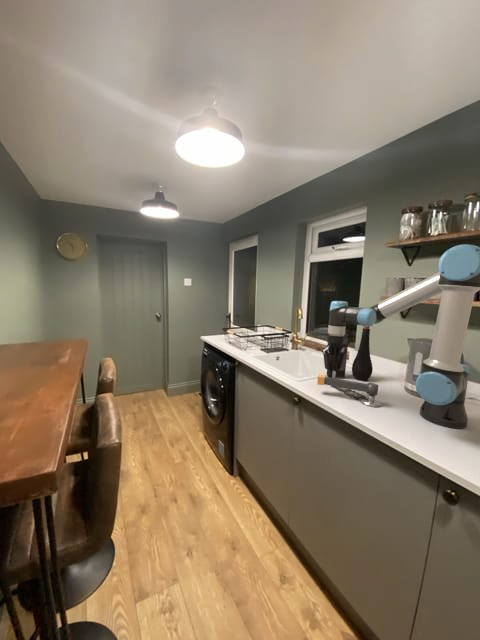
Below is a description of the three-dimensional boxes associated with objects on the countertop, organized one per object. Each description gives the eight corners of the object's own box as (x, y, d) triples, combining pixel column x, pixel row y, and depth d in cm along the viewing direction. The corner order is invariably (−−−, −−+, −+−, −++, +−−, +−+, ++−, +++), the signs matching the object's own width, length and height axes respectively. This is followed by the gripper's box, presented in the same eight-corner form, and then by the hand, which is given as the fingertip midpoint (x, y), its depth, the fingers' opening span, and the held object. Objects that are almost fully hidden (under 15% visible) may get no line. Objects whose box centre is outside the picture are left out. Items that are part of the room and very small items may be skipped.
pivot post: (385, 406, 118) (386, 396, 117) (371, 408, 114) (372, 398, 114) (369, 398, 125) (370, 389, 124) (356, 400, 122) (357, 391, 121)
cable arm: (377, 392, 120) (378, 384, 120) (377, 396, 116) (378, 387, 116) (318, 382, 131) (319, 373, 130) (317, 384, 127) (317, 376, 126)
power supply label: (366, 398, 125) (366, 396, 125) (356, 399, 123) (356, 398, 123) (353, 391, 133) (353, 390, 133) (343, 393, 130) (343, 391, 130)
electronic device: (342, 375, 157) (345, 341, 155) (345, 379, 152) (348, 343, 149) (325, 374, 158) (328, 340, 156) (328, 377, 152) (331, 342, 150)
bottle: (347, 378, 154) (352, 325, 150) (355, 374, 161) (361, 324, 157) (366, 383, 146) (372, 328, 142) (374, 379, 153) (380, 326, 150)
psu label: (351, 391, 134) (351, 389, 133) (342, 392, 131) (342, 390, 131) (339, 385, 141) (339, 383, 141) (330, 386, 139) (330, 385, 138)
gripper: (341, 332, 132) (336, 380, 135) (319, 333, 127) (315, 382, 130) (353, 335, 125) (347, 385, 128) (330, 336, 120) (325, 388, 123)
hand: (331, 383), depth 129 cm, fingers closed
